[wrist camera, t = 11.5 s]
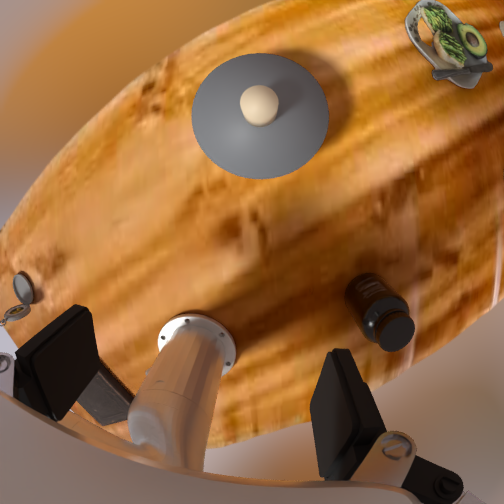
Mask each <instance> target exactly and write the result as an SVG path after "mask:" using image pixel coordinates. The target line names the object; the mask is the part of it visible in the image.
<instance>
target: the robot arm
mask: <svg viewBox="0 0 504 504" xmlns="http://www.w3.org/2000/svg"><path fill="white" fill-rule="evenodd" d="M158 348H159V352H160V353H159V355H158V356H157V358H156V360H155V362H154V363H153V365H152V367H150V368H149V369H147V370H146V378H145V380H144V381H143V383H142V385H141V387H140V389H139V390H138V392H137V394H136V396H135V397H134V399H133V401H132V403H131V405H130V407H129V411H128V420H127V421H128V428H129V432H130V436H131V439H132V441H133V443H131V442H129V441H126V440H123V439H121V438H119V437H117V436H115V435H113V434H111V433H109V432H107V431H105V430H104V429H102V428H100V427H98V426H96V425H95V424H93V423H91V422H89V421H88V420H86V419H84V418H82V417H80V416H79V415H77V414H75V413H73V412H71V411H69V410H70V408H71V407H72V406H73V404H74V403H75V402H76V400H77V399H78V398H79V396H80V395H81V394H82V392H83V391H84V390H85V388H86V387H87V386H88V384H89V383H90V382H91V380H92V379H93V378H94V376H95V375H96V374H97V373H98V371H99V369H100V360H99V355H98V350H97V344H96V339H95V332H94V326H93V319H92V314H91V312H89V309H88V308H87V307H84V306H80V305H77V304H75V305H73V306H72V307H70V308H69V309H68V310H66V311H65V312H64V313H63V314H61V315H60V316H59V317H57V318H56V319H55V320H54V321H52V322H51V323H50V324H48V325H47V326H46V327H45V328H43V329H42V330H41V331H40V332H39V333H37V334H36V335H35V336H34V337H32V338H31V339H30V340H29V341H28V342H26V343H25V344H24V345H23V346H22V347H20V348H19V349H18V350H17V351H16V352H15V354H16V357H17V359H16V360H14V359H13V357H12V356H11V355H10V354H8V353H0V504H485V503H484V502H483V501H481V500H480V499H479V498H478V497H476V496H475V495H474V494H472V493H471V492H470V491H467V492H466V493H465V492H464V491H463V488H464V487H463V482H462V479H461V478H460V477H459V476H458V475H457V474H456V473H454V472H452V471H450V470H447V469H445V468H442V467H440V466H438V465H436V464H434V463H432V462H429V461H427V460H425V459H423V458H421V457H419V456H416V451H417V448H416V444H415V442H414V440H413V439H412V438H411V437H410V436H408V435H407V434H405V433H403V432H399V431H388V432H387V430H386V428H385V425H384V423H383V420H382V418H381V415H380V413H379V410H378V408H377V406H376V404H375V401H374V398H373V396H372V394H371V391H370V389H369V387H368V385H367V383H365V382H363V380H362V378H361V375H360V373H359V371H358V368H357V366H356V364H355V361H354V359H353V357H352V355H351V352H350V350H349V349H339V348H334V349H333V350H332V352H328V353H327V356H326V359H325V362H324V365H323V368H322V371H321V374H320V377H319V380H318V382H317V385H316V388H315V391H314V394H313V396H312V399H311V402H310V414H311V420H312V427H313V433H314V440H315V447H316V454H317V461H318V467H319V475H320V477H324V479H325V481H284V480H266V479H253V478H242V477H234V476H226V475H219V474H213V473H206V472H203V467H204V458H205V451H206V445H207V440H208V435H209V431H210V426H211V422H212V417H213V412H214V408H215V403H216V399H217V394H218V389H219V385H220V380H221V377H222V376H223V375H225V374H226V373H227V372H228V371H229V370H230V369H231V368H232V366H233V365H234V362H235V358H236V345H235V342H234V339H233V338H232V336H231V334H230V333H229V332H228V330H227V329H226V328H225V327H224V326H223V325H221V324H220V323H219V322H217V321H215V320H214V319H212V318H209V317H207V316H204V315H200V314H190V313H189V314H181V315H178V316H175V317H173V318H172V319H170V320H169V321H168V322H167V323H165V325H164V326H163V328H162V329H161V331H160V333H159V337H158Z"/></svg>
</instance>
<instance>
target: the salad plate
mask: <svg viewBox="0 0 504 504" xmlns="http://www.w3.org/2000/svg"><path fill="white" fill-rule="evenodd" d="M421 17H422V18H423V19H424V22H425V23H426V25H427V26H428V28H429V29H430V30H431V32H432V34H433V36H434V37H433V42H432V47H430V46H428V45H427V44H425V43H424V42H423V41H421V38H420V36H419V33H418V28H417V26H418V21H419V19H420V18H421ZM405 28H406V31H407V33H408V36H409V38H410V40H411V41H412V43H413V44H414V45H415V47H416V48H417V49H418V51H419V52H420V53H421V54H422V55H423V56H424V57H425V58H426V59H427V60H428V61H429V62H430V63H431V64H432V65H433V66H434V68H435V70H432V76H433V78H434V79H435V80H442V79H448V80H449V81H451V82H453V83H454V84H455V85H457V86H460V87H463V88H468V89H471V88H474V87H475V86H476V84H477V83H478V81H479V79H480V77H481V74H482V72H490V71H492V70H493V65H492V64H491V63H489V62H488V61H487V58H486V54H487V44H486V42H485V40H484V38H483V37H482V35H481V34H480V33H479V32H478V31H477V30H476V29H475V28H474V27H473V26H472V25H469V24H467V23H465V24H463V23H462V22H461V21H460V20H459V19H458V18H457V17H456V16H455V15H454V14H453V13H452V12H451V11H450V10H449V9H448V8H447V7H446V6H444V5H443V4H441V3H440V2H438V1H435V0H421V1H419V2H418V3H417V4H416V5H415V7H414V8H413V9H412V10H411V11H410V12H409V13H408V15H407V17H406V18H405Z"/></svg>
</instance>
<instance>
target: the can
mask: <svg viewBox="0 0 504 504" xmlns="http://www.w3.org/2000/svg"><path fill="white" fill-rule="evenodd" d="M500 30H501V32H502V35H503V36H504V21H501V22H500Z"/></svg>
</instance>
